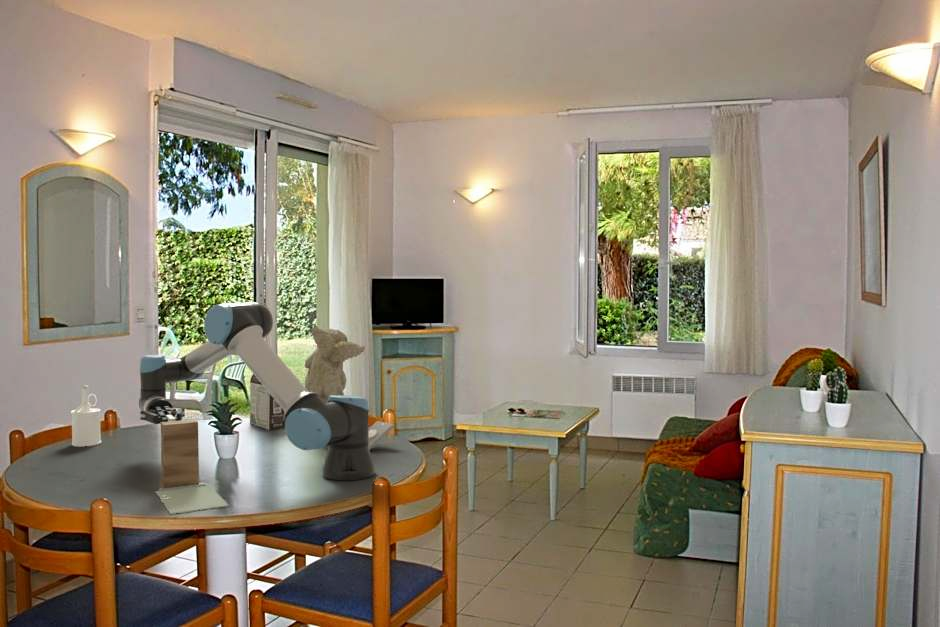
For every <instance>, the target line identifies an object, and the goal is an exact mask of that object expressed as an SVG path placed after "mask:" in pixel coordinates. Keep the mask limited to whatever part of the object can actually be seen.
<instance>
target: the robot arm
mask: <svg viewBox="0 0 940 627" xmlns="http://www.w3.org/2000/svg"><path fill="white" fill-rule="evenodd" d="M273 324H274V317H273V315H272V313H271V310H270V309H269V308H268V307H267V306H265V305H264V304H262V303H260V302H255V301H248V302H223V303H219V304H217V303H216V304H215V305H213V306H211V307H210V308H208V310H207V312H206V314H205V316H204V322H203V330H204V334H205V337H206V339H207V341H206V342H204V343H202V344H200V345H199V346H197V347H196V348H195V349H193V350H192V351H190V352H188V353H187V354H185V355H184V356H182V357H179V358H172V359H166V356H165V355H163V354H147V355H143V356H142V357H141V358H140V364H139V366H140V367H139V374H140V391H139V392H140V396H139V399H138V406H139V409H140V413H139V416H140V421H146V422H148V423H152V424H154V425H158V424H159V425H161V422H170V421H181V420H182V419H183V418H184V417H185V415H186V414H185V412H186V410H185V407H181V408H175V407H174V406H173V405H172V403H171V402H170V401H169V400H167V391H166V390H167V384H172V383H179V382H183V381H193V380H196V379H199V378H201V377H203V375H204V373H205V371H206V370H209V368H211V367H212V366H214V365H216V364H217V363H219V362H221V361H222V360H224V359H226V358H228V357H229V356H231V355H232V356H238V357H239V358H240V359H241V360H242V362H243V363H244V364H245V366H247V368H248V369H249V370H250V371H251V373H252V375H253V374H254V375H255V376H256V377H257V379H258V380H259V381H260V382H261V384H262V385H263V386H264V387H265V388H266V390H267V391H268V392H269V393H270V395H271V396H272V397H273V398H274V399H275V401H276V402H277V403H278V404H279V406H280V407H281V408H282V409H283V410H284V421H285V428H284V429H285V430H286V432H285V434H286V437H287V439H288V440H289V442H290V443H291V444H292V445H293V446H294V447H296V448H297V449H300V450H302V451H313V450H314V451H315V450H319V449H322V448H324V447H327V446H328V447H327V448H328V449H327V453H326V456H325V460H324V464H323V465H322V476H323V477H324V478H325V479H328V480H334V481H357V480H363V479H368V478H370V477H373V476H374V475H375V473H376V472H375V471H376V469H375V468H376V467H375V463H374V462H373V459H372V455H371V452H370V451H371V449H370V450H369V428H370V427H369V423H370V422H369V419H370V418H369V412H370V409H369V401H368V399H367V398H366V397H363V396H357V395H345V394H344V395H330V396H329V397H328V401H327V402H328V403H325V402H324V401H323V400H322V399H321V397H320V396H319V395H318V394H317V393H316V392H308V390H307V389H306V388H305V385H303V383H302V382H301V381H300V380H299V379H298V377H297V376H296V375H295V374H294V373H293V372H292V370H291V369H290V368H289V367H288V365H287V364H286V363H285V362H284V361H283V359H282V358H281V357H280V356H279V355H278V353H277V352H276V351H275V350H274V348H272V347H271V345H270V344H269V343H268V342H267V341H266V340H265V338H266V337H267V336H269V334H270V333H271V331H272V329H273V326H274V325H273Z"/></svg>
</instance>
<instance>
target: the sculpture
mask: <svg viewBox="0 0 940 627" xmlns="http://www.w3.org/2000/svg"><path fill="white" fill-rule="evenodd" d="M311 336H312V339H313V340H314V343H315V344H316V349H314V350H313V352H312V353H311V354H310V355H309V356H308V357H307V358H306V360H305V362H304V368H305V369H307V373H306V375H305V379H304V387H305V388H306V389H307V390H308V392H316V393H317V394H318V395H319V396H320V397H321V399H322V400H323V401H324V402H325V403H328V402H327V401H328V397H329V396H330V395H345V393H344V390H345V389H346V385H347V376H346V373H345V371H344V363H345V362H346V360H349V359H353V358H354V357H355V358H356V357H358V356H359V355H361V354H362V353H363V352H364V351H365V350H366V345H360V344H357V343H355V342H353V341H348V337H347V335H346V334H345V333H344V332H342V331H340V329H334V328H327V329H325V330H324V329H321V328H319V327H318V326H317V323H315V322H314V324H313V326H312V327H311Z"/></svg>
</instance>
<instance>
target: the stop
mask: <svg viewBox="0 0 940 627" xmlns="http://www.w3.org/2000/svg"><path fill="white" fill-rule="evenodd" d="M206 485H207V483H206V482H199V483H198V484H190V485H182V486H174V487H166V488H162V487H160V488H159V489H158V491H167V490H175V489H183V488H191V487H199V486H206Z"/></svg>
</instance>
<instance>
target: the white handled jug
mask: <svg viewBox="0 0 940 627" xmlns="http://www.w3.org/2000/svg"><path fill="white" fill-rule="evenodd" d="M81 388H82V389H81V402H80V405H79V406H77V407H76V409H73V410H71V411H70V414H71V438H72V439H71V440H72V442H71V446H73V447H76V448H77V447H79V448H86V447H85V446H87V447H93V446H97V445H101V444H102V440H101V439H102V438H101V409H100V408H99V407H98V408H97V407H95V408H94V406H96V405H97V403H98V397H97V396H96V394H95V393H90V394H89V385H82V387H81ZM91 396H93V397H94V399H95V403H94V405H93V404H91V402H90V400H91V399H90V398H91Z"/></svg>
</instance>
